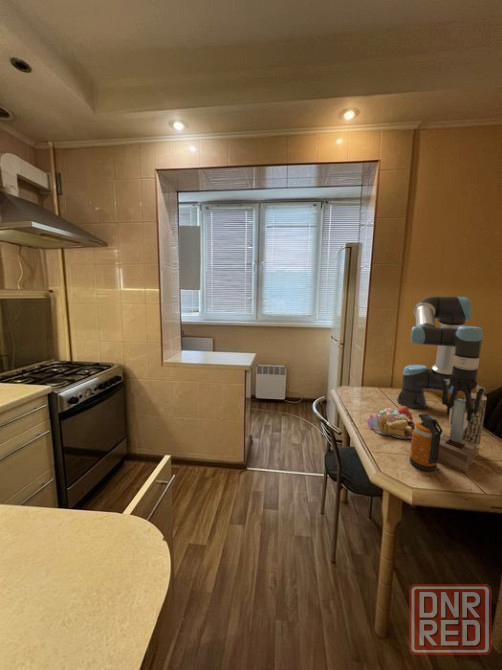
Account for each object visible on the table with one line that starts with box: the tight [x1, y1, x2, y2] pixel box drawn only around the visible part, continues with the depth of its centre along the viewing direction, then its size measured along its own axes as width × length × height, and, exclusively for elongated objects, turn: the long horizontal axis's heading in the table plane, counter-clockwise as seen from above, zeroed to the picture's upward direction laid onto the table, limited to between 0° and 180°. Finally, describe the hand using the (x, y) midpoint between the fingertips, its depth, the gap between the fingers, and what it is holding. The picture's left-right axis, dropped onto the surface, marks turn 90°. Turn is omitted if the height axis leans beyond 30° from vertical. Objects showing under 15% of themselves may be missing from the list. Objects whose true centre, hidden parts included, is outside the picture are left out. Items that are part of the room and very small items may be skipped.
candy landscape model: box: [367, 405, 417, 439], centre depth 138 cm, size 25×24×9 cm
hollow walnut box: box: [438, 433, 477, 473], centre depth 111 cm, size 11×11×7 cm
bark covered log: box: [462, 392, 487, 458], centre depth 115 cm, size 7×7×25 cm
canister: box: [409, 413, 444, 472], centre depth 106 cm, size 9×11×20 cm
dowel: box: [449, 398, 467, 442], centre depth 109 cm, size 4×4×16 cm
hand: (457, 425), depth 109 cm, fingers closed on dowel, 4 cm apart
